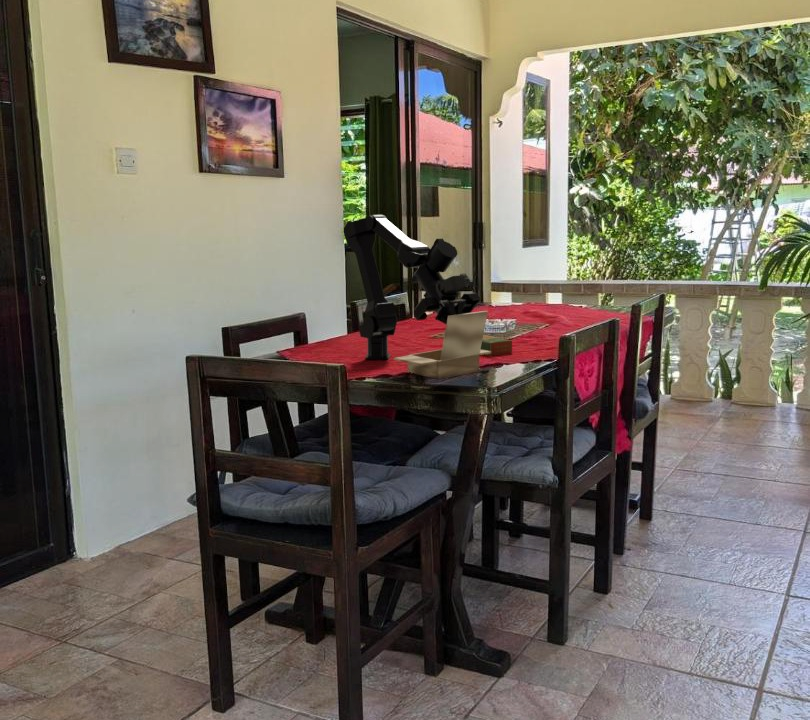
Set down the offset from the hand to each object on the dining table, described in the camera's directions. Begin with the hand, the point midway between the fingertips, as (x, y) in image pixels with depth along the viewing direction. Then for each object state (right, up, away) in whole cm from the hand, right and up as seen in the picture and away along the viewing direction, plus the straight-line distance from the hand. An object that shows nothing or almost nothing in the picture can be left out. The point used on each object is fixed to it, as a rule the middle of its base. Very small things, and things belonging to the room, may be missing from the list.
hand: (463, 332), depth 209 cm
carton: (+9, -5, +38) cm, 39 cm away
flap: (0, -1, 0) cm, 1 cm away
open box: (-5, -10, +8) cm, 14 cm away
